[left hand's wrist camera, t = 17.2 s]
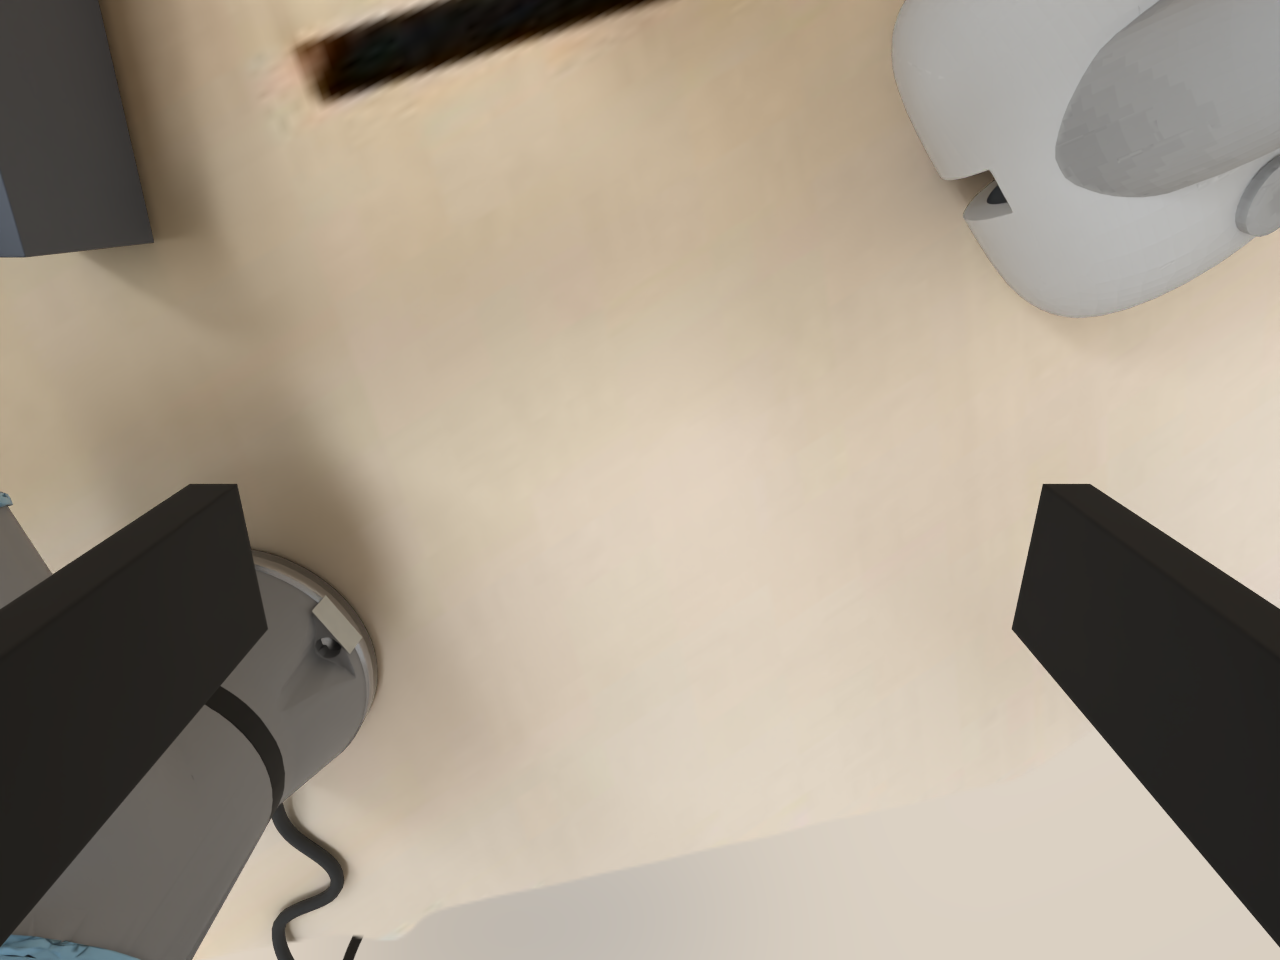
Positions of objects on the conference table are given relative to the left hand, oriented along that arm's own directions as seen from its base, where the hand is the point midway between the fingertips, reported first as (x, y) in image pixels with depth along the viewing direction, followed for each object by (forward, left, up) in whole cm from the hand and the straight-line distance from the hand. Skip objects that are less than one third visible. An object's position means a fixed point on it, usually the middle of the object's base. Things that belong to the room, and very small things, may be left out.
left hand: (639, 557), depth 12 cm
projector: (+20, -16, -27) cm, 37 cm away
